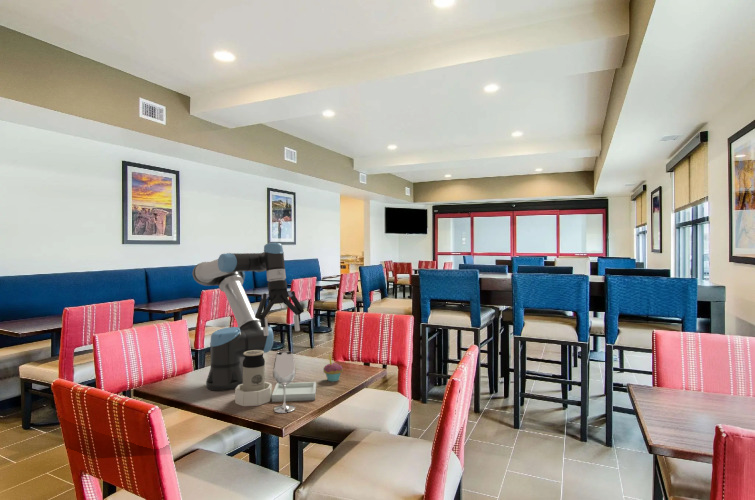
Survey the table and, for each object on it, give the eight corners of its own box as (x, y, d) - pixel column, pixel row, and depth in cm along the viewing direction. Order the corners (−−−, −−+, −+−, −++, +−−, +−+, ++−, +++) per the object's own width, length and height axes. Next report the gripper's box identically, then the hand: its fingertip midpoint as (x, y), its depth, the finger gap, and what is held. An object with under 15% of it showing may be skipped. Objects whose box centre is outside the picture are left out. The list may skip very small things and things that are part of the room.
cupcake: (330, 384, 175) (330, 355, 175) (319, 379, 182) (319, 352, 182) (346, 380, 181) (346, 352, 181) (336, 375, 187) (335, 349, 187)
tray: (271, 401, 155) (271, 395, 155) (276, 389, 169) (276, 383, 169) (314, 400, 157) (314, 393, 157) (316, 387, 171) (316, 381, 171)
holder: (232, 406, 150) (232, 392, 150) (240, 394, 163) (240, 381, 163) (268, 405, 152) (268, 391, 152) (273, 393, 164) (273, 380, 164)
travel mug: (242, 397, 159) (242, 350, 159) (263, 395, 162) (263, 349, 162) (243, 404, 152) (243, 355, 152) (265, 401, 155) (265, 353, 155)
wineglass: (287, 414, 143) (287, 356, 143) (268, 411, 146) (268, 354, 146) (299, 406, 150) (299, 351, 150) (281, 403, 153) (281, 349, 153)
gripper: (250, 281, 159) (256, 337, 155) (308, 277, 174) (314, 328, 171) (243, 284, 164) (248, 338, 161) (299, 280, 180) (305, 329, 177)
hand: (282, 333), depth 166 cm, fingers open, 13 cm apart
